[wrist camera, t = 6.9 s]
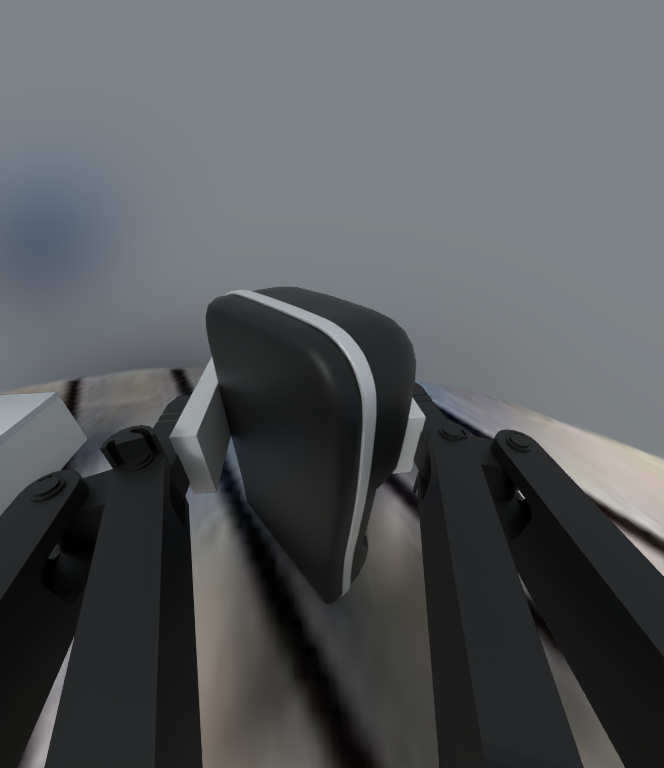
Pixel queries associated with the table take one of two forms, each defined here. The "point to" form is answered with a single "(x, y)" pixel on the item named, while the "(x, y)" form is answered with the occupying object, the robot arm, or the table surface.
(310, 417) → the battery charger
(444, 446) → the robot arm
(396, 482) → the table surface
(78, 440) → the stand
